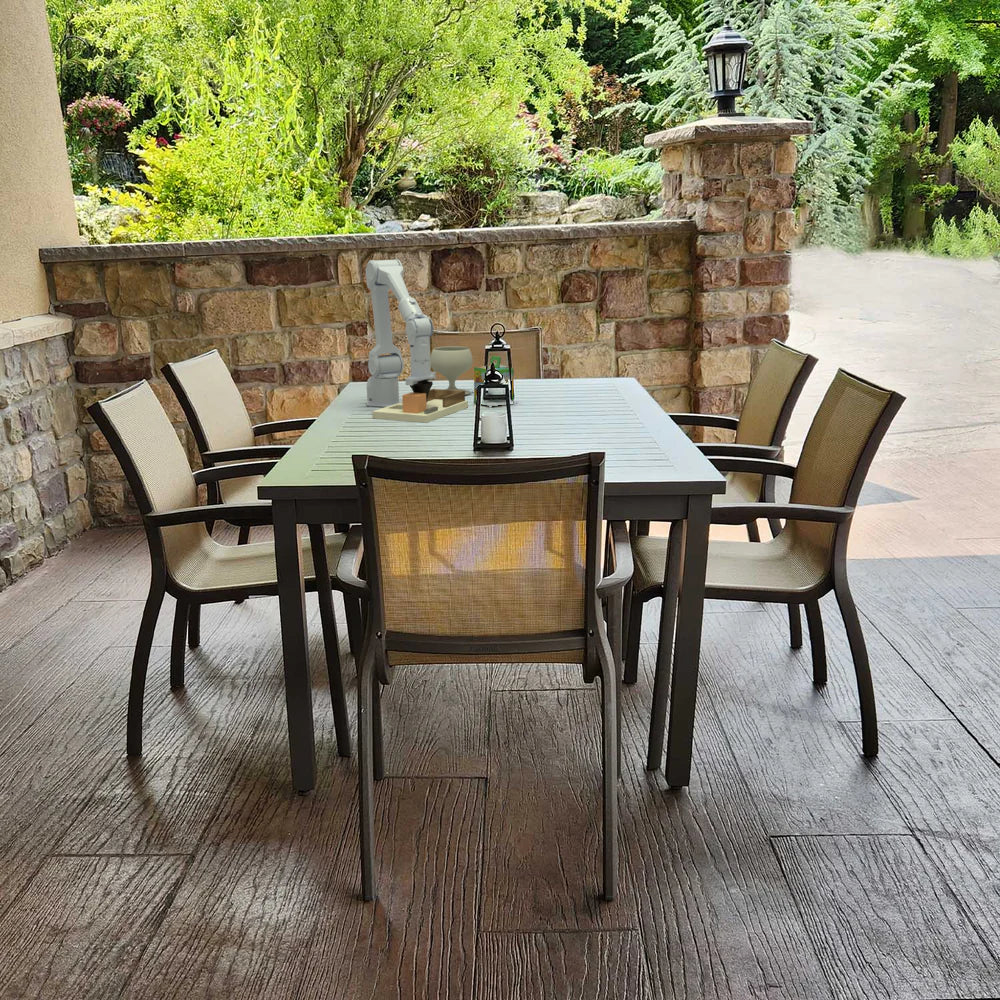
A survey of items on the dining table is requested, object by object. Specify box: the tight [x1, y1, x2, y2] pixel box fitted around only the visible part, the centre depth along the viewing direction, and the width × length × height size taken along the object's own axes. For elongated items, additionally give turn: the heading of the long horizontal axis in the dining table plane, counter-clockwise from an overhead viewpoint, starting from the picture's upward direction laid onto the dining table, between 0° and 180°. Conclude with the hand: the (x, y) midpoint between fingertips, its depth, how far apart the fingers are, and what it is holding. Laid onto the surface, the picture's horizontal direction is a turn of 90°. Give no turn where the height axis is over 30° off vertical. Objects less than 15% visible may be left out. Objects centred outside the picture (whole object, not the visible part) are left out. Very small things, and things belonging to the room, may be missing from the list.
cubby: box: [427, 388, 466, 408], centre depth 303 cm, size 11×12×3 cm
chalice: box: [430, 345, 474, 396], centre depth 329 cm, size 14×14×15 cm
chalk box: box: [473, 355, 515, 405], centre depth 310 cm, size 9×9×15 cm
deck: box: [371, 399, 469, 424], centre depth 299 cm, size 18×26×2 cm
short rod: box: [424, 406, 438, 414], centre depth 288 cm, size 1×6×1 cm, turn 155°
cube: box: [401, 391, 427, 413], centre depth 290 cm, size 5×5×5 cm
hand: (421, 406), depth 294 cm, fingers closed
